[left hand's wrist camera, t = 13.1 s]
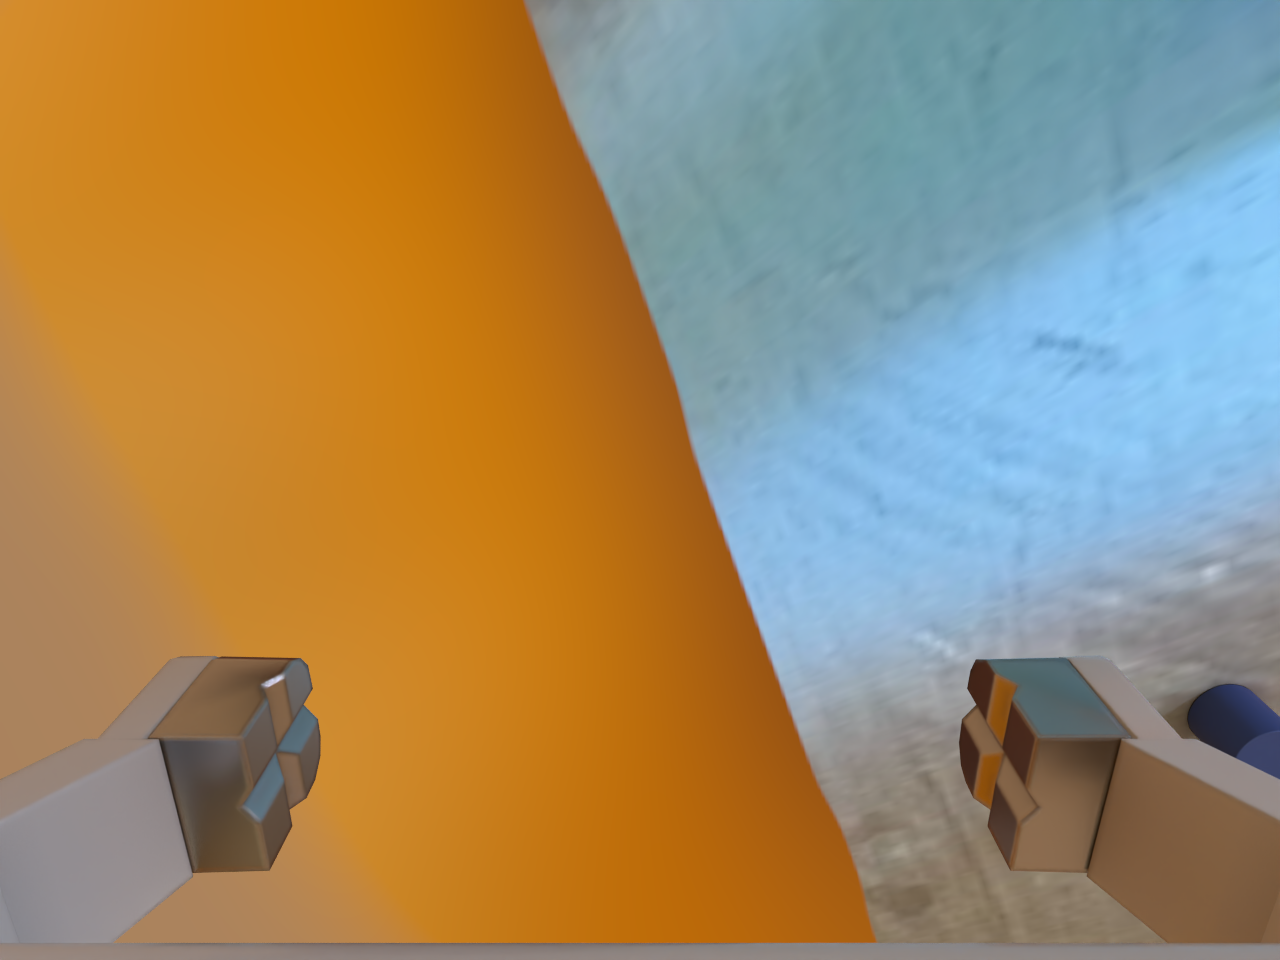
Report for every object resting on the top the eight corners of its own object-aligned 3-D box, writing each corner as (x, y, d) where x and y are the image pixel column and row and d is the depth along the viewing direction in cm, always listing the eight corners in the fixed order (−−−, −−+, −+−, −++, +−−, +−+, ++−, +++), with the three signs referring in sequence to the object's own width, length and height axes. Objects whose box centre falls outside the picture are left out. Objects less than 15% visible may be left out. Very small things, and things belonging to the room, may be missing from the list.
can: (1176, 734, 57) (1220, 784, 52) (1204, 678, 55) (1253, 725, 51) (1238, 744, 57) (1288, 795, 53) (1269, 689, 55) (1323, 737, 51)
